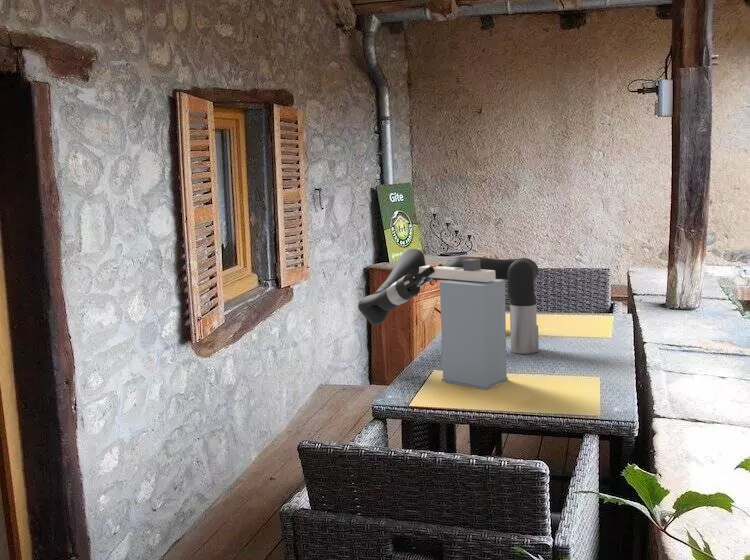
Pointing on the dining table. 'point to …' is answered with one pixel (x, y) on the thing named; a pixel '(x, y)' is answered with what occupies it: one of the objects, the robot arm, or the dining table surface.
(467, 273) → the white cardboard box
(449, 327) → the post
